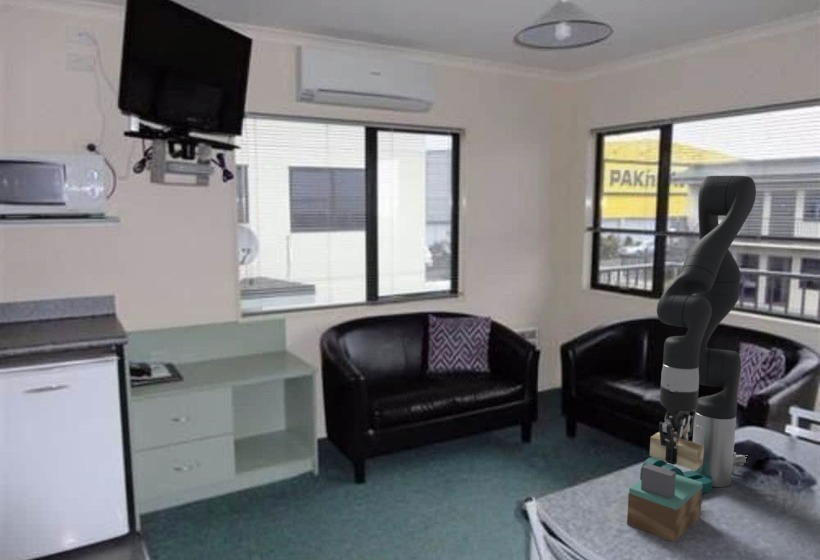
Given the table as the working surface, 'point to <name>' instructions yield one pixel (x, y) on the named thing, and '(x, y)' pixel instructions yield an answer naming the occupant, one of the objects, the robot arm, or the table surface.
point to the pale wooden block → (679, 452)
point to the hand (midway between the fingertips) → (675, 459)
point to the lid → (665, 487)
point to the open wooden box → (663, 516)
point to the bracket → (681, 473)
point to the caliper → (738, 461)
